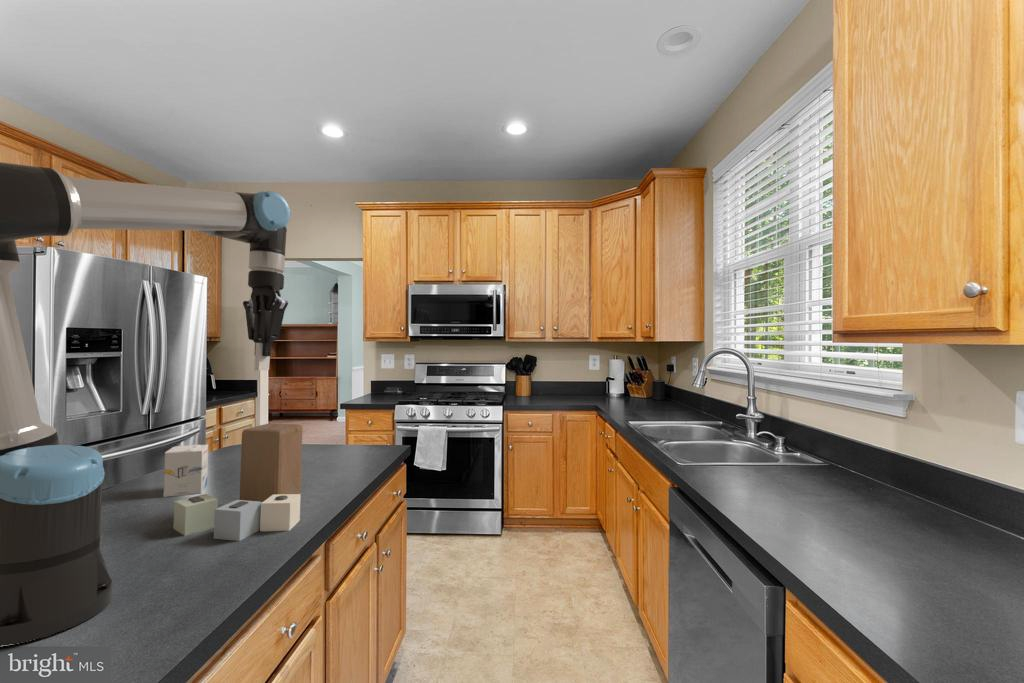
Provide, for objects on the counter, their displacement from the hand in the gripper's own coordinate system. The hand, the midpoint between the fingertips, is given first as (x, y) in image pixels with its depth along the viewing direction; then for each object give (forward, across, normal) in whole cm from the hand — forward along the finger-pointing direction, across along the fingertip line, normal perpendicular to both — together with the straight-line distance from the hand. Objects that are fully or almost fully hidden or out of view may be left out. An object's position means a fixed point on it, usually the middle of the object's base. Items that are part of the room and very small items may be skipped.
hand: (261, 370), depth 106 cm
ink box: (+34, +32, -3) cm, 47 cm away
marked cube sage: (+34, +4, +11) cm, 36 cm away
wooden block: (+34, 0, -4) cm, 34 cm away
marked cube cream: (+34, -11, +2) cm, 36 cm away
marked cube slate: (+34, -7, +9) cm, 36 cm away
